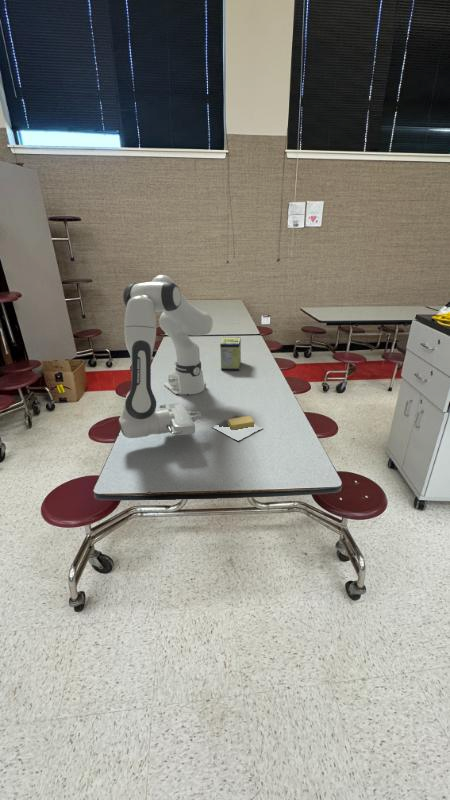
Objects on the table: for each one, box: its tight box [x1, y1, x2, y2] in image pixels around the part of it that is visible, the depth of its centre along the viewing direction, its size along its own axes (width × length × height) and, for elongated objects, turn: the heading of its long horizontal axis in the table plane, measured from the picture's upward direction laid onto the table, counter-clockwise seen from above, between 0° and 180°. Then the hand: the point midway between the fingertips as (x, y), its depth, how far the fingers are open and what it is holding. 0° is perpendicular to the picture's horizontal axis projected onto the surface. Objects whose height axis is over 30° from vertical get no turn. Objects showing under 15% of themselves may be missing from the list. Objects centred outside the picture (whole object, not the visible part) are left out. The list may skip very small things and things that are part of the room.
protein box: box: [219, 336, 242, 372], centre depth 205 cm, size 10×16×16 cm
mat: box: [216, 414, 240, 427], centre depth 143 cm, size 15×14×1 cm
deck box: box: [227, 415, 255, 430], centre depth 144 cm, size 2×5×10 cm
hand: (201, 414), depth 136 cm, fingers closed
